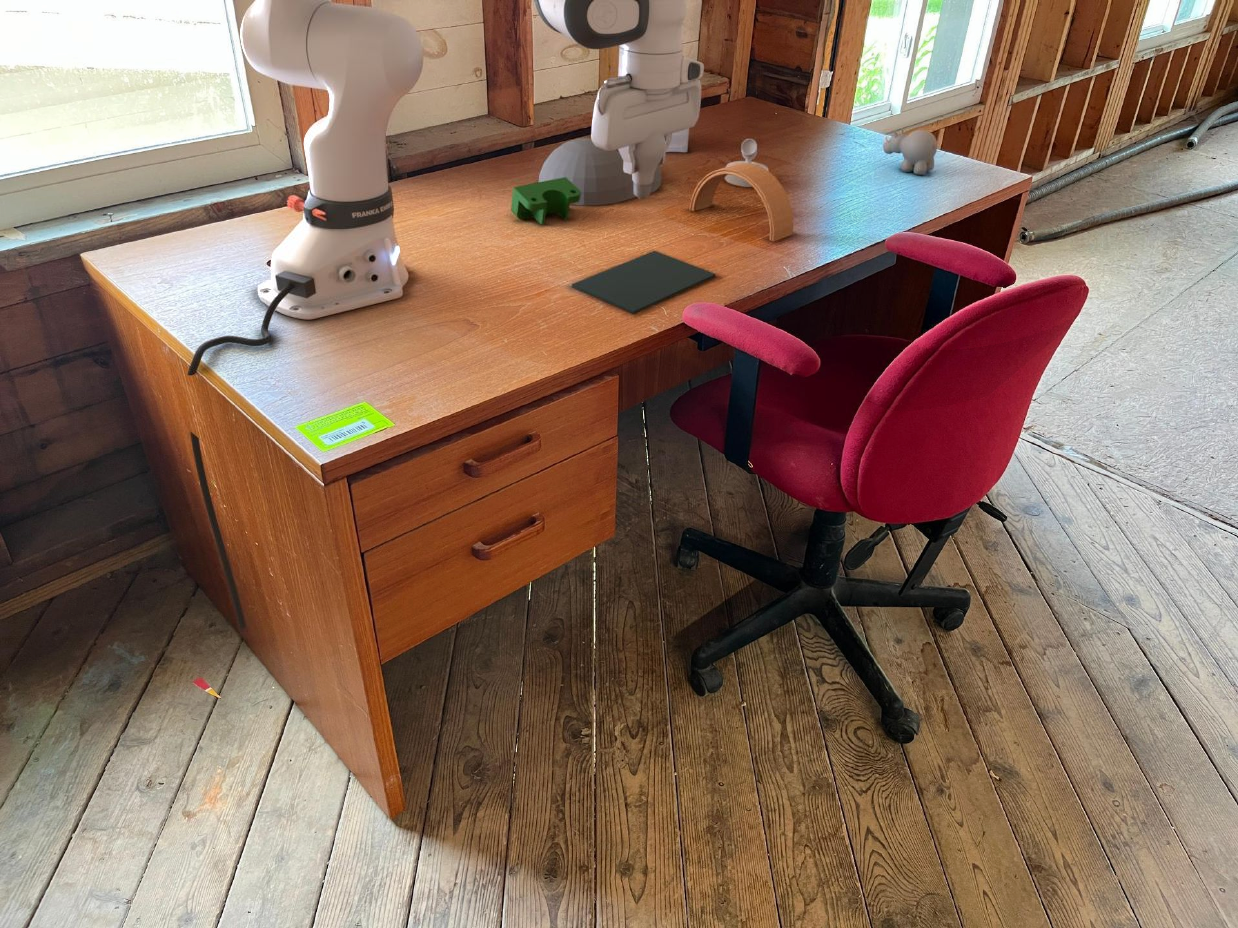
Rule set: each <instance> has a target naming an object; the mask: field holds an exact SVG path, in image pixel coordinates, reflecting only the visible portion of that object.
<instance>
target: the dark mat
mask: <svg viewBox="0 0 1238 928" xmlns="http://www.w3.org/2000/svg"><path fill="white" fill-rule="evenodd" d="M715 277H716V273H714V272H711V271H709V270H706V269H704V268H702V267H701V268H700V267H698V266H696V265H693V264H691V263H688V262H686V261H683V260H679V259H677V258H675V257H672V256H670V255H667V254H664V253H662V252H659V251H657V250H653V251H651V252H647V253H646V254H643V255H640V256H638V257H636V258H633V259H630V260H628V261H626V262H623V263H621V264H617V265H616V266H613V267H611V268H608V269H606V270H603V271H601V272H598V273H596V274H593V275H591V276H588V277H587V278H584V279H582V280H579V281H576V282H574V283H572V284H571V288H573V289H574V290H577V291H579V292H582V293H584V294H587V295H589V296H591V297H594V298H596V299H598V300H601V301H603V302H605V303H607V304H609V305H612V306H613V307H617V308H619V309H621V310H623V311H625V312H628V313H630V314H632V315H635V314H637V313H639V312H642V311H643V310H646V309H648V308H650V307H652V306H655V305H657V304H659V303H661V302H663V301H666V300H668V299H670V298H672V297H674V296H677V295H679V294H681V293H683V292H685V291H687V290H689V289H691V288H694V287H696V286H699V285H700V284H702V283H705V282H708V281H709V280H711V279H713V278H715Z"/></svg>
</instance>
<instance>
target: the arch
mask: <svg viewBox="0 0 1238 928" xmlns="http://www.w3.org/2000/svg"><path fill="white" fill-rule="evenodd" d="M727 175H734V176H738V177H740V178H742V179H744V180H745V181H747V182H748V183H749V184H750V185H751V186H752V187H751V188H753V190H755V191H756V193H757V194H758V195H759V197H760V199H761V201H762V203H763V205H764V207H765V210H766V213H767V217H768V223H769V241H772V242H776V241H779V240H781V239H785V238H787V237H790V236H792V235H793V231H794V216H793V209H792V205H791V202H790V199H789V196H788V194H787V193H786V190H785V189H784V186H782V184H781V182H780V180H778V178H776V176H775V175H774V174H773V173H771V172H770V171H769V170H768V171H767V170H766V169H764V168H762V167H760V166H758V165H755V164H751V163H741V164H736V165H732V166H729V167H726V166H725V167H722V168H719V169H715V170H713V171H711V172H709V173H708V174H706V175H705V176H703V177H702V178H701V180H700V181H698V183H697V185H696V187H695V188H694V190H693V193H692V196H691V199H690V204H689V211H692V212H696V211H700V210H703V209H706V208H709V207H711V206H713V201H714V198H715V193H716V191H717V190H718V187H719V185H720V184H721V182H722V181H723V180H724V179H725V176H727Z"/></svg>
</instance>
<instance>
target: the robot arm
mask: <svg viewBox="0 0 1238 928" xmlns="http://www.w3.org/2000/svg"><path fill="white" fill-rule="evenodd" d="M533 1H534V6H535V8H536V11H537V13H538V15H539V17H540V18H541V20H542V21H543V22H544V24H545V25H546V26H547V27H548V28H550V29H551V30H553V31H554V32H556V33H558V34H561V35H563V36H564V37H566V38H568V39H569V40H571V41H572V42H574V43H575V44H577V45H578V46H580V47H582V48H585V49H589V50H603V49H608V48H613V47H618V46H619V47H618V71H617V72H618V73H617V77H610V78H606V79H605V80H604V83H602V85H601V86H600V87H599V89H598V90H597V94H596V99H595V101H594V107H593V113H592V121H591V132H590V138H591V140H592V142H593V144H594V145H595V146H596V147H599V148H601V149H604V150H608V151H613V150H616V149H617V150H618V151H619V152H620V155H621V157H622V159H623V171H624V172H625V173H628V174H633V173H636V172H638V170H639V168H638V166H639V165H638V161H635V158H634V155H633V152H632V151H635V145H636V144H637V143H640V142H643V141H645V140H646V139H647V138H648V137H649V136H650V135H651V134H652V133H654V132H661V133H662V134H663V136H664V139H665V143H666V149H665V153H664V155H663V157H662V159H661V161H660V162H659V164H658V165H659V166H660V165H661V166H662V165H663V164H665V163H666V153H667V152H666V151H667V149H668V147H669V145H670V143H671V141H672V133H674V132H677V131H681V130H684V129H688V128H689V129H691V128H694V127H695V126H696V124H697V122H698V120H699V117H700V111H701V104H702V103H701V101H702V82H701V80H700V79H702V78H703V76H704V72H705V71H704V70H705V65H704V63H703V62H701V61H698V60H696V59H695V60H694V59H691V58H689V57H685V56H684V55H683V53H684V43H683V36H682V30H683V23H684V22H685V18H686V12H687V0H533ZM240 41H241V46H242V51H243V53H244V55H245V58H246V60H247V61H248V63H249V65H250V66H251V67H252V68H253V69H254V70H255V71H256V72H258V73H259V74H261V75H264V76H265V77H267V78H272V79H273V80H275V81H278V82H281V83H283V84H286V85H290V86H295V87H303V88H310V89H317V90H325V91H327V92H328V96H329V110H328V113H327V115H326V116H324V117H322V118H321V119H319V120H317V121H316V122H315V123H313V124H312V125H311V126H310V127H309V129H308V130H307V132H306V134H305V136H304V139H303V148H304V155H305V160H306V169H307V174H308V175H307V176H308V182H309V190H308V192H307V196H306V200H304V199H303V198H301V197H299V196H297V195H294V194H293V195H290V196H289V197H288V198H287V200H286V202H287V203H286V205H287V208H289V209H290V210H293V211H295V212H296V213H302V212H303V213H302V217H303V219H302V220H301V221H300V222H299V223H298V224H297V225H296V226H295V228H294V229H293V230H292V231H291V232H290V233H289V234H288V235H287V237H286V238H285V239H284V240H283V241H282V242H281V243H280V244H279V245H278V246H277V247H276V249H274V251H273V252H272V255H271V260H270V279H268V280H266V281H263V282H262V283H259V284H258V285H257V296H258V298H259V300H260V301H261V302H262V303H263V304H264V305H266V306H267V309H266V312H265V314H264V317H263V319H262V323H261V326H260V327H261V328H260V333H261V335H262V337H261V338H247V337H243V336H236V335H223V336H219V337H215V338H213V339H210V340H206V341H205V342H203V343H201V344H200V345H199V346H198V347H197V349H196V350H195V352H194V355H193V357H192V360H191V362H190V365H189V368H188V370H187V376H189V377H190V376H194V375H196V374H197V371H198V368H199V365H200V364H201V361H202V358H203V357H204V354H205V352H206V351H207V350H209V349H211V348H213V347H217V346H219V345H224V344H238V345H243V346H249V347H262V346H264V345H267V344H269V343H270V342H272V340H273V336H272V335H271V333H269V327H270V324H271V320H272V318H273V315H274V313H275V311H276V312H278V313H280V314H282V315H284V316H288V317H292V318H295V319H299V320H300V319H301V320H315V319H319V318H322V317H327V316H331V315H335V314H339V313H343V312H347V311H352V310H355V309H360V308H365V307H367V306H372V305H375V304H379V303H384V302H388V301H391V300H395V299H399V298H401V297H403V294H404V291H403V290H404V289H403V287H404V286H405V285H406V284H407V282H408V280H409V272H408V270H407V268H406V265H405V262H404V261H403V257H402V254H401V250H400V246H399V244H398V240H397V239H398V238H397V234H396V229H395V224H394V213H395V205H394V197H393V191H392V190H393V189H392V186H391V185H389V179H388V178H389V177H388V167H387V149H386V147H387V146H386V145H387V144H386V139H387V138H386V137H387V130H388V129H387V128H388V125H389V121H390V117H391V115H392V113H393V110H394V108H395V107H396V105H397V104H398V103H399V102H400V100H401V99H402V98H403V97H404V96H406V95H407V94H408V93H409V92H410V91H412V89H413V88H414V87H415V86H416V84H417V83H418V81H419V79H420V76H421V74H422V71H423V67H424V50H423V49H424V48H423V44H422V41H421V38H420V36H419V33H418V31H417V30H416V28H415V26H414V25H413V24H412V22H410V21H409V20H408V19H406V18H404V17H402V16H400V15H397V14H395V13H392V12H389V11H386V10H383V9H381V8H378V7H375V6H374V7H373V6H366V5H357V4H347V3H339V2H334V1H332V0H254V1H253V2H252V3H251V4H250V5H249V7H248V8H247V10H246V11H245V13H244V15H243V18H242V21H241V26H240ZM189 434H190V440H191V441H190V442H191V447H192V452H193V458H194V462H195V468H196V472H197V477H198V481H199V485H200V489H201V493H202V498H203V500H204V505H205V509H206V513H207V516H208V520H209V523H210V527H211V530H212V533H213V537H214V540H215V545H216V547H217V551H218V554H219V558H220V561H221V565H222V567H223V568H222V569H223V571H224V575H225V578H226V581H227V582H226V583H227V585H228V589H229V592H230V596H231V599H232V603H233V607H234V610H235V615H236V618H237V622H238V627H239V628H240V629H245V628H246V626H247V624H246V620H245V617H244V613H243V609H242V604H241V600H240V597H239V593H238V590H237V585H236V582H235V578H234V575H233V572H232V568H231V564H230V561H229V557H228V554H227V550H226V546H225V544H224V540H223V537H222V533H221V530H220V526H219V523H218V519H217V516H216V515H217V514H216V511H215V508H214V505H213V500H212V496H211V492H210V489H209V485H208V480H207V476H206V471H205V466H204V461H203V454H202V450H201V444H200V438H199V437H198V436H197V435H196V434H195V433H194V432H192V431H189Z"/></svg>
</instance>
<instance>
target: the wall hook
mask: <svg viewBox="0 0 1238 928" xmlns="http://www.w3.org/2000/svg"><path fill="white" fill-rule="evenodd" d="M740 148H741V155H742V157H743V158H744V159H745V160H736V161H732V162H729V163H727V164H726V165H725V167H729V166H732V165H736V164H741V163H751V164H755V165H758V166H760V167H762V168H764V169H766V170H767V171H769V167H768V166H767V165H765V164H763V163H759V162H756V161H752V160H754V159H755V158H756V156H757V154H758V144H757V142H756V140H754V139H752V138H746V139H744V140H743V141H742V143H741V147H740ZM724 180H725V181H726V182H727V183H728V184H731V185H733V186H737V187H743V188H753V187H752V186H751V185H750V184H749V183H748V182H747V181H745V180H744V179H742V178H740V177H738V176H734V175H727V176H725V177H724Z"/></svg>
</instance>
